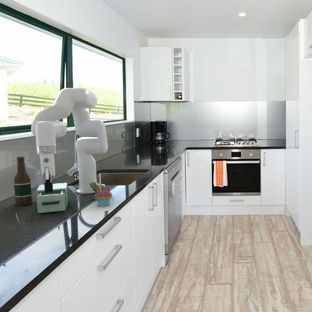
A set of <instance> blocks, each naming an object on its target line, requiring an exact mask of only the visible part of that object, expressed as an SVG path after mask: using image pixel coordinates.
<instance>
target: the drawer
mask: <svg viewBox="0 0 312 312" xmlns="http://www.w3.org/2000/svg"><path fill="white" fill-rule="evenodd" d="M36 208H37V209H36V210H37V214H42V213H52V212H62V211H63V212H64V211H66V208H65V194H64V190H56V191H53V192H48V193H45V191H43V192H40V194H39V196H37V195H36Z"/></svg>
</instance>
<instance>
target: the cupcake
mask: <svg viewBox="0 0 312 312" xmlns="http://www.w3.org/2000/svg"><path fill="white" fill-rule="evenodd" d="M97 184H98V185H99V189H100V191H99V192H97V193H94V195H93V199H94V200H96V202H97V205H98V206H99V207H105V206H108V205H109V204H110V200H111V199H112V198H113V192H111V191H110V192H109V191H101V187H100V184H101V183H100V182H99V181H97Z"/></svg>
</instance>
